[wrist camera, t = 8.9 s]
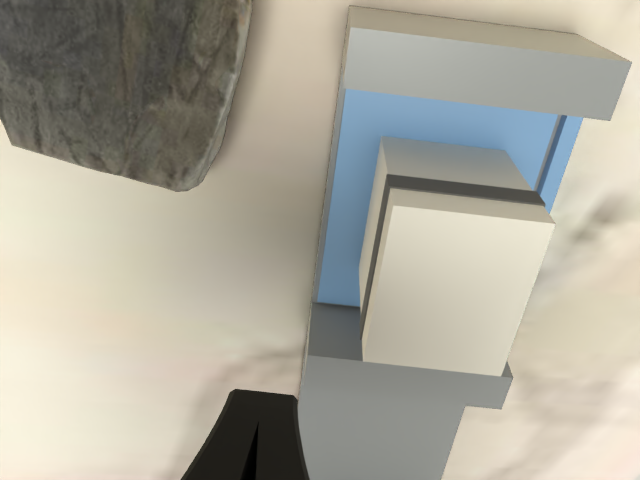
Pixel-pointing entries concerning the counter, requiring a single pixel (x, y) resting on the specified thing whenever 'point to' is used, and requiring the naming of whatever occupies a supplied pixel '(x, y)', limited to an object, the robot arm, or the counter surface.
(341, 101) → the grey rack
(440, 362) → the block
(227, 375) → the counter surface
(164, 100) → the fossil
